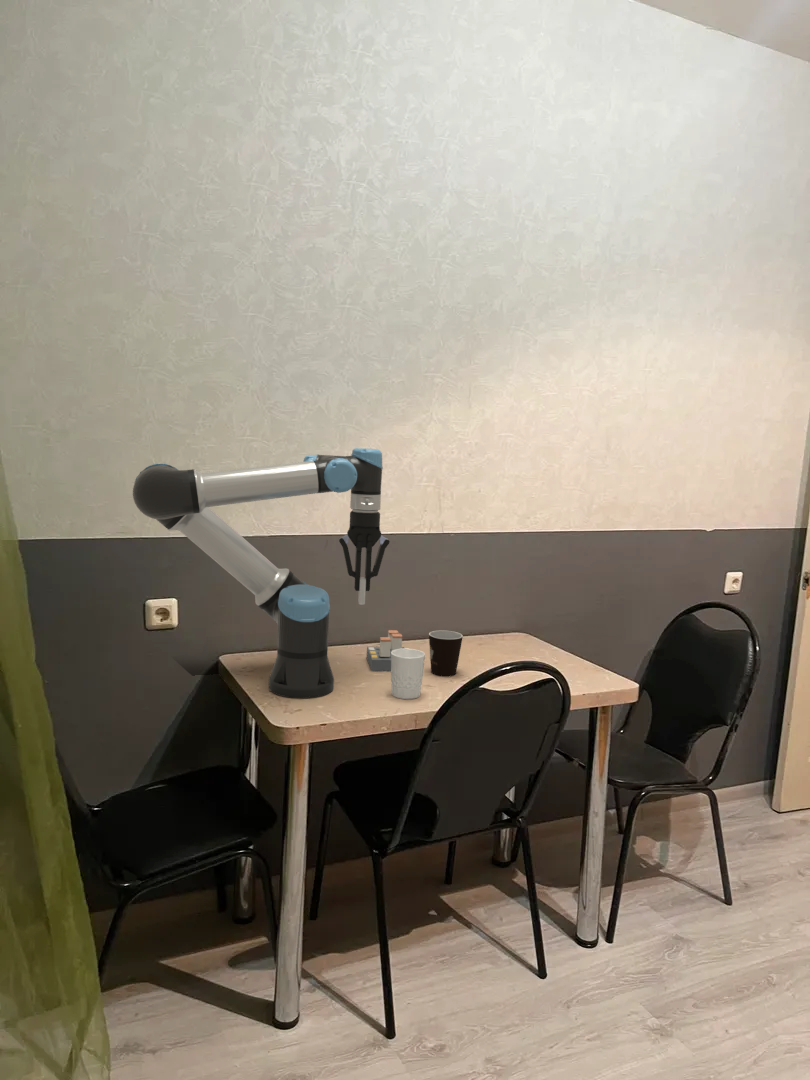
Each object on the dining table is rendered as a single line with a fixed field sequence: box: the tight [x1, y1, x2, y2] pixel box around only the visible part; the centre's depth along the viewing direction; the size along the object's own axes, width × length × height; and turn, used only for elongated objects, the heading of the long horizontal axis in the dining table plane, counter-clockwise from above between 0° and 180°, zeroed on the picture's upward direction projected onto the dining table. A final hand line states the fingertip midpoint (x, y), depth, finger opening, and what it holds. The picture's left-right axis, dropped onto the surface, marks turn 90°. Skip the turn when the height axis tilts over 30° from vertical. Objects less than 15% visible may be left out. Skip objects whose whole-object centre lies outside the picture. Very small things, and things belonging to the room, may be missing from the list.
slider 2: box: [391, 633, 403, 651], centre depth 211 cm, size 2×2×4 cm
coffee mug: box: [428, 629, 464, 678], centre depth 208 cm, size 12×9×10 cm
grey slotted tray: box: [366, 646, 405, 672], centre depth 211 cm, size 10×12×3 cm
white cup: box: [390, 647, 426, 700], centre depth 188 cm, size 8×8×10 cm
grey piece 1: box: [379, 636, 391, 657], centre depth 207 cm, size 2×2×4 cm
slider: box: [387, 629, 400, 649], centre depth 215 cm, size 2×2×4 cm
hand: (361, 603), depth 205 cm, fingers closed
